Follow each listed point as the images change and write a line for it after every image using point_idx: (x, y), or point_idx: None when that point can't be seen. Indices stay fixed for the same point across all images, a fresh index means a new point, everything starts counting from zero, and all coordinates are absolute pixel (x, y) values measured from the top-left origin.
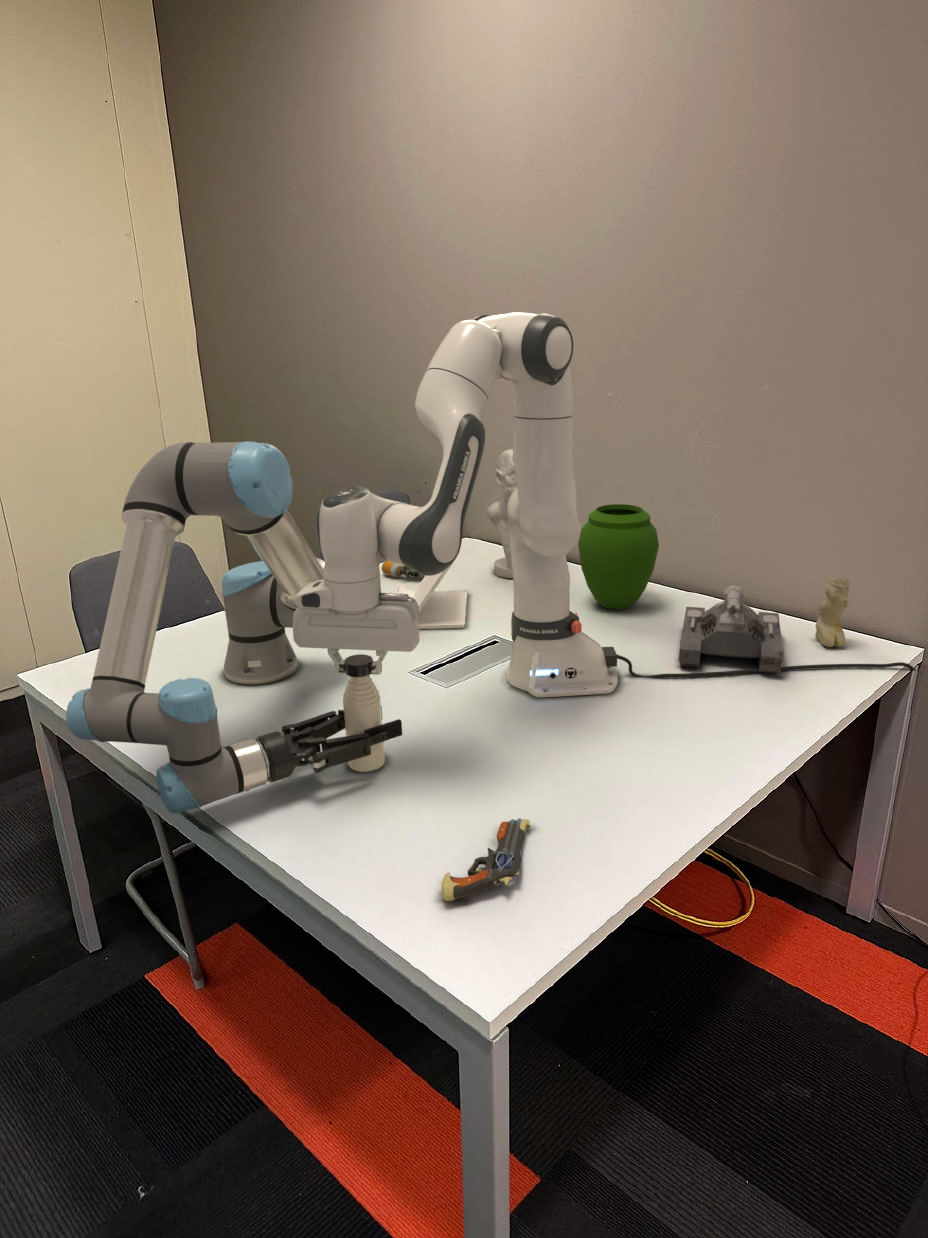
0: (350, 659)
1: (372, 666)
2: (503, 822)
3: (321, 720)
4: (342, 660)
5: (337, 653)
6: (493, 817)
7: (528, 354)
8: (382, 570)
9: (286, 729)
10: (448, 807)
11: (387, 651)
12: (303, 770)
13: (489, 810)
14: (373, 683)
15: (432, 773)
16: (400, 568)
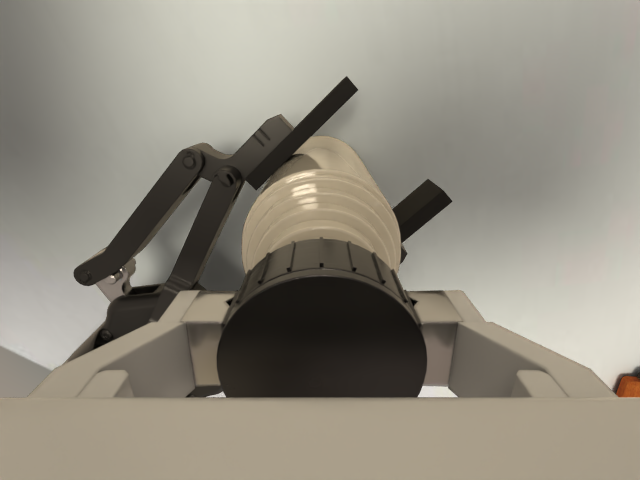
0: (259, 370)
1: (427, 380)
2: (634, 387)
3: (172, 205)
4: (191, 336)
5: (132, 374)
6: (608, 344)
7: None
8: None
9: (96, 282)
10: (524, 325)
11: (590, 377)
12: (184, 232)
13: (604, 325)
14: (383, 253)
15: (487, 210)
16: None
